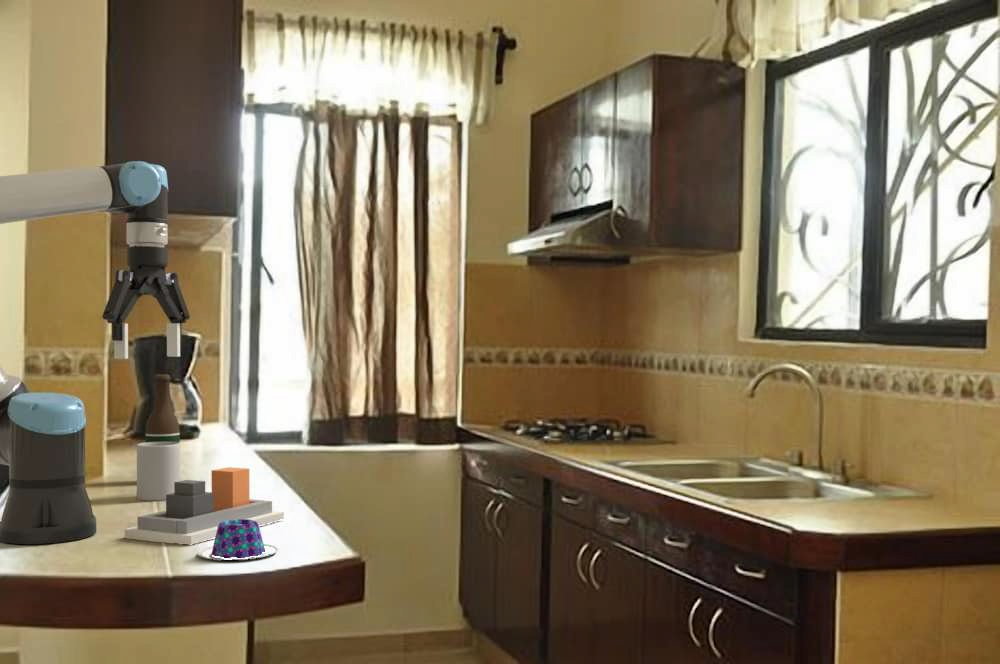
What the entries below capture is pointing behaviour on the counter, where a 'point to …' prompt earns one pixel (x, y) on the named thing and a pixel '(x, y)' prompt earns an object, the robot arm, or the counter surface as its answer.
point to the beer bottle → (162, 414)
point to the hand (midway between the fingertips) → (148, 357)
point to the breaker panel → (191, 536)
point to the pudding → (238, 540)
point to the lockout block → (230, 487)
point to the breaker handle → (189, 500)
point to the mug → (157, 469)
